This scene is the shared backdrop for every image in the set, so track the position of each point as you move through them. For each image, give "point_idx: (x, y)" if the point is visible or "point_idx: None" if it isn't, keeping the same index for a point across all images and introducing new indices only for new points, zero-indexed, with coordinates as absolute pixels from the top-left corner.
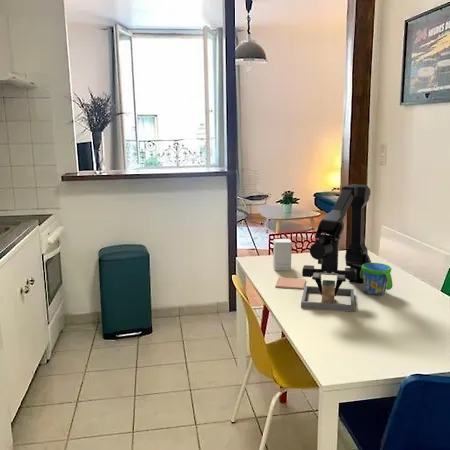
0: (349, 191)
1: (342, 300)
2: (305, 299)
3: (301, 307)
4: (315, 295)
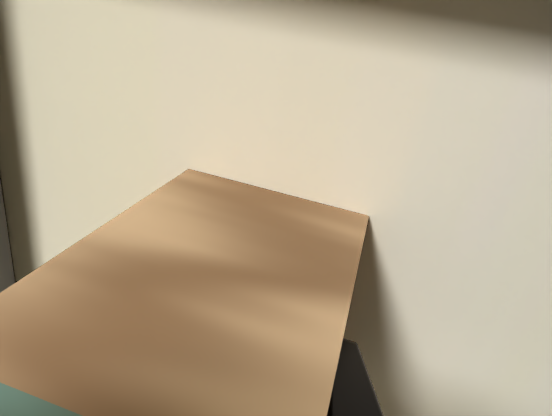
0: None
1: (490, 282)
2: (1, 227)
3: None
4: (96, 44)
